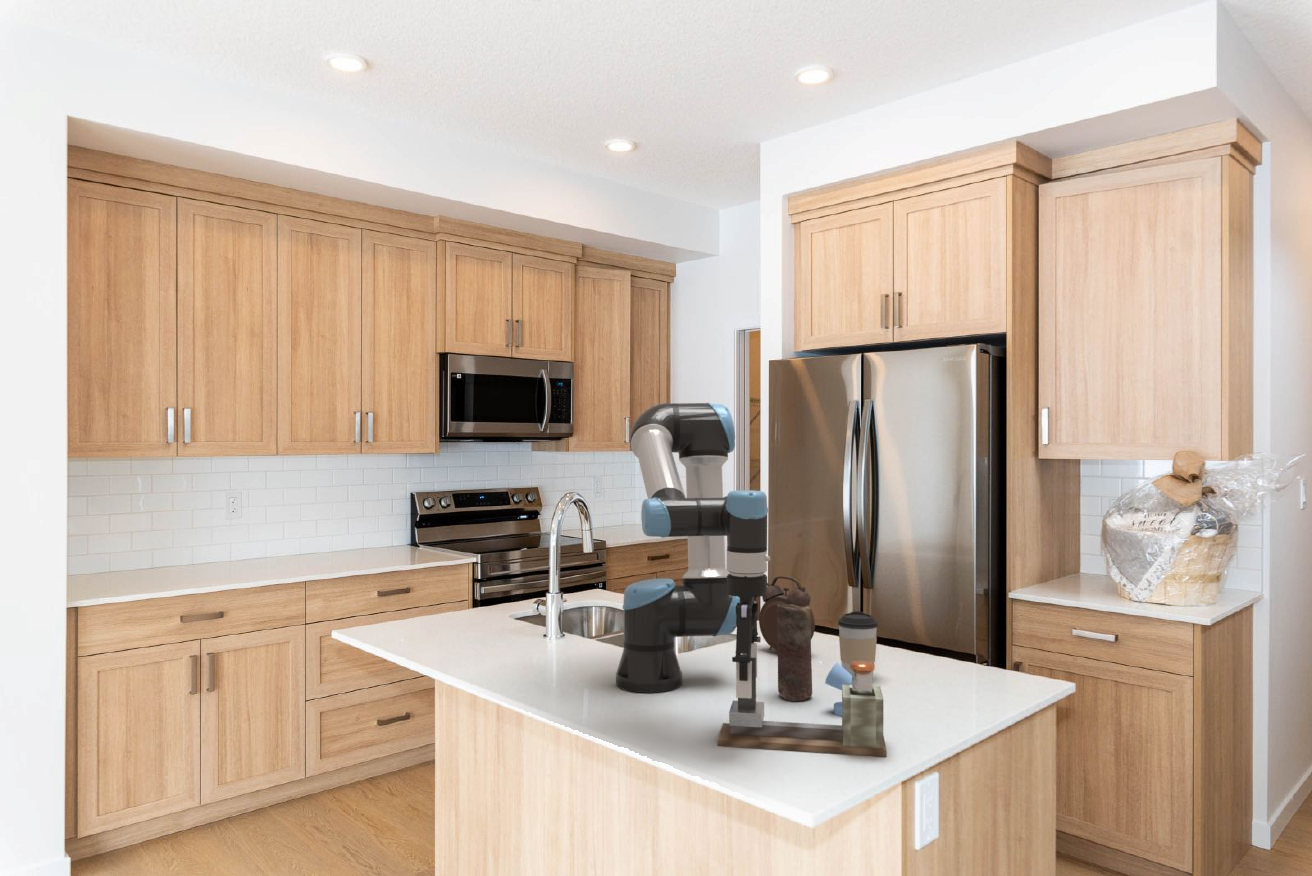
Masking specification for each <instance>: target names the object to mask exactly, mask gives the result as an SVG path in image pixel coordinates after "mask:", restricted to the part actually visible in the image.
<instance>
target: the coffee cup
mask: <svg viewBox="0 0 1312 876" xmlns="http://www.w3.org/2000/svg"><path fill="white" fill-rule="evenodd" d="M837 622H838V623H837V625H838V630H839V633H838V638H839V639H838V641H839V652H840V661H841V662H840V663H841V666H842V667H843V668H844V669H845V670H846V671H847V672H849V673H850V674H851V675H852V669H850V662H852V661H868V662H872V663H874V664H875V662H876V653H877V652H876V650H877V638H878V637H877V629H878V620H876V619H875V618H874V617H873V615H872V614H867V613H865V612H863V611H860V610H859V611H857V610H854V611H853V610H852V611H851V612H849V613H844V614H842V616H841V617H840V618H838V621H837ZM874 670H875V669H874ZM874 670H873V671H872V681H874Z"/></svg>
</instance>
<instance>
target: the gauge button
mask: <svg viewBox="0 0 1312 876" xmlns="http://www.w3.org/2000/svg"><path fill="white" fill-rule="evenodd" d="M875 667H876V666H875V662H874V663H872V662H868V661H852V662H850V669H852V695H866V696H872V686H873V680H872V671H873V670H875ZM873 672H874V671H873Z"/></svg>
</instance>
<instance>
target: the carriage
mask: <svg viewBox="0 0 1312 876" xmlns="http://www.w3.org/2000/svg"><path fill="white" fill-rule="evenodd" d="M751 661H752V698H737V700H732V702H731V704H730V708H729V710H728V723H729V726H745V727H762V725H763V721H765V720H764V718H765V702H764V701H757V678H756V658H751Z"/></svg>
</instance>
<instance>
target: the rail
mask: <svg viewBox="0 0 1312 876" xmlns="http://www.w3.org/2000/svg"><path fill="white" fill-rule="evenodd" d="M883 696H884V695H883V690H882V688H881V686H878V685H872V696H866V695H852V685H842V690H841V702H842V716H841V725H840V724H838V725H837V724H826V723H825V724H823V723H808V722H807V723H804V722H789V721H788V722H787V721H773V720H772V721H771V720H763V725H762V727H745V726H729V722H728V723H727V722H723V723H722V724H721V729H720V731H719V734H718V737H717V746H718V747H720V746H721V747H732V748H744V749H745V748H746V749H748V748H749V749H765V750H777V751H778V750H779V751H792V752H793V751H794V752H795V751H796V752H807V753H808V752H809V753H822V754H838V755H850V756H851V755H854V756H855V755H856V756H867V757H868V756H871V757H883V758H887V755H888V754H887V745H886V741H885V740H886V739H885V737H884V697H883Z"/></svg>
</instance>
